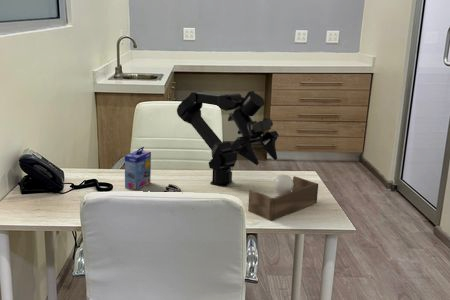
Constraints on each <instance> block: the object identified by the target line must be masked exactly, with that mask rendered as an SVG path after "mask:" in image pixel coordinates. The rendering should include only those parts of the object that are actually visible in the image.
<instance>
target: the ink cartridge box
mask: <svg viewBox="0 0 450 300" xmlns="http://www.w3.org/2000/svg"><path fill="white" fill-rule="evenodd" d="M144 148H145V146H141V147H140V148H138V149H137V150H135V151H133V152H130V153H128V154H126V155H124V188H127V189H131V190H134V191H137V190H139V189H141V188H143V187H145V186H147V185H148V184H150V183H151V170H152V169H151V168H152V165H151V163H152V159H151V158H152V152H151V151H148V150H144Z"/></svg>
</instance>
